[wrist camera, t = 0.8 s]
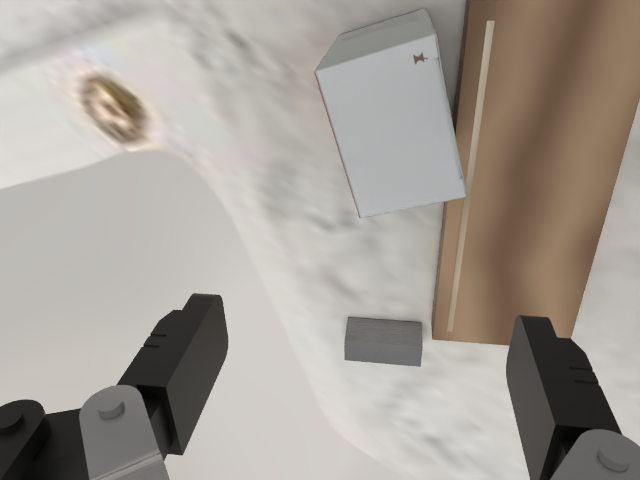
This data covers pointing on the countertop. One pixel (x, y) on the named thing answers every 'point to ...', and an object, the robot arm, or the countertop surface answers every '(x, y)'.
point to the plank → (533, 160)
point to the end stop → (383, 341)
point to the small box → (392, 115)
